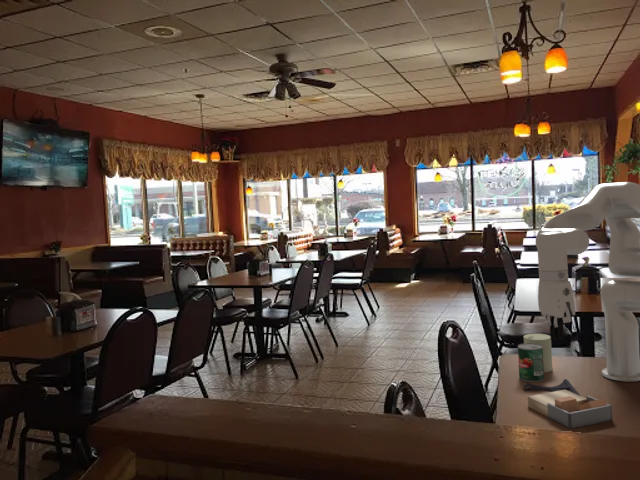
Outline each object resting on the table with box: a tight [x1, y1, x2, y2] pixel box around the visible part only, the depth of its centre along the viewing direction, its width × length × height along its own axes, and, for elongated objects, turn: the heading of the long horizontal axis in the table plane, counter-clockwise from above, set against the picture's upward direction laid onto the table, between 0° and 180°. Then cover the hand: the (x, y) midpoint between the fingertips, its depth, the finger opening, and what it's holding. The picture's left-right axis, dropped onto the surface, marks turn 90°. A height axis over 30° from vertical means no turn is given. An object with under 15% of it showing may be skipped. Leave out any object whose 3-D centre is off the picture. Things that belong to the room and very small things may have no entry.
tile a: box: [578, 398, 608, 411], centre depth 148 cm, size 5×5×2 cm
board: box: [527, 390, 587, 418], centre depth 157 cm, size 13×9×3 cm
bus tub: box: [547, 395, 613, 429], centre depth 148 cm, size 14×8×4 cm, turn 106°
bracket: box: [523, 378, 581, 396], centre depth 172 cm, size 14×15×3 cm
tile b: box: [555, 396, 577, 413], centre depth 149 cm, size 5×5×2 cm
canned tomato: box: [517, 342, 545, 383], centre depth 183 cm, size 8×8×11 cm
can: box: [522, 333, 554, 374], centre depth 193 cm, size 9×9×12 cm
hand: (557, 339), depth 155 cm, fingers closed
